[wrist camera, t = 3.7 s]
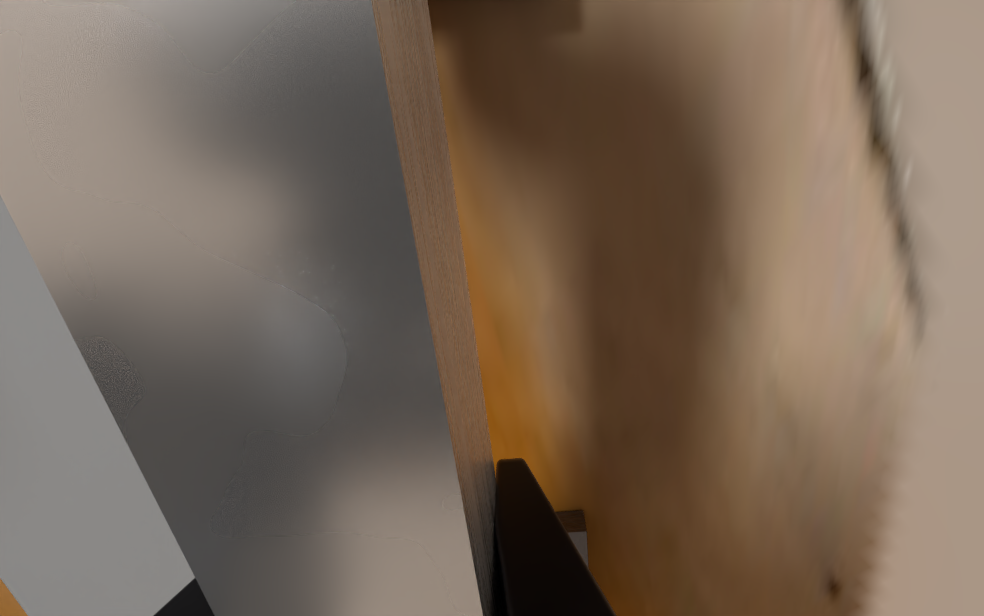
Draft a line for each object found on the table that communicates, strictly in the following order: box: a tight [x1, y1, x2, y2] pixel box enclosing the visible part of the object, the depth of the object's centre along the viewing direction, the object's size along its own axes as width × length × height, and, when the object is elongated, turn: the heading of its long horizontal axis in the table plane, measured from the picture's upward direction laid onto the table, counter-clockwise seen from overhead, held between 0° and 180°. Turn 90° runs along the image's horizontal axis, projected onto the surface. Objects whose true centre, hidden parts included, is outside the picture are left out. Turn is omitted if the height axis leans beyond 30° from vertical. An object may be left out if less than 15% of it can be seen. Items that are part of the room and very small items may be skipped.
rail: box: [0, 0, 507, 616], centre depth 7 cm, size 23×2×2 cm, turn 6°
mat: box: [0, 196, 195, 616], centre depth 15 cm, size 28×10×1 cm, turn 6°
